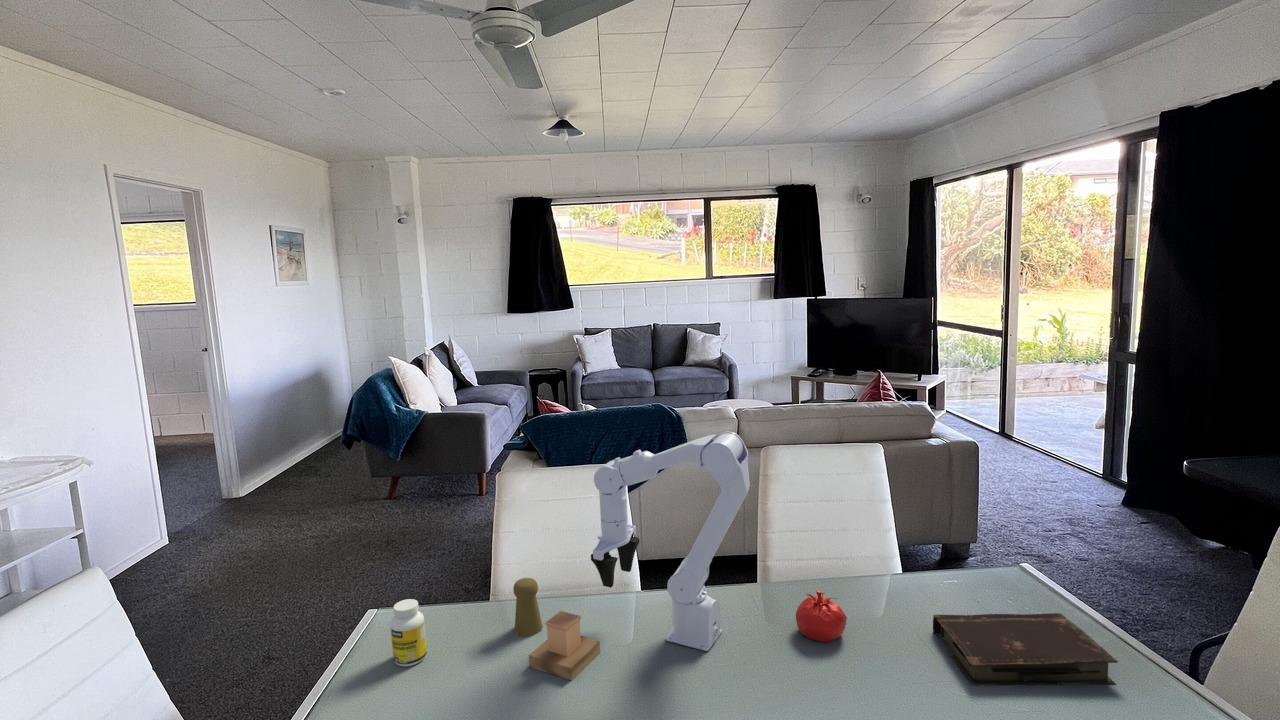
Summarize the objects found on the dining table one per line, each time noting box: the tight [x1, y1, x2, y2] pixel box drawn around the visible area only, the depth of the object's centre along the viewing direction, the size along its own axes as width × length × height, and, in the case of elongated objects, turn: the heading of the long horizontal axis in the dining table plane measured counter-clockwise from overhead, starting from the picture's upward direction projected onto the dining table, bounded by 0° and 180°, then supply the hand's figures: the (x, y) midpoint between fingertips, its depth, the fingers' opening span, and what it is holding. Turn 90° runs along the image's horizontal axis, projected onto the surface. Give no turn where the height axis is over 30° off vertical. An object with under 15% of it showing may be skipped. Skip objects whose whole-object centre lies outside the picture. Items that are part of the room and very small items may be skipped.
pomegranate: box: [795, 589, 848, 643], centre depth 134 cm, size 10×10×9 cm
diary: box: [932, 612, 1119, 687], centre depth 124 cm, size 19×25×5 cm
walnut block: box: [528, 635, 601, 681], centre depth 129 cm, size 10×10×2 cm
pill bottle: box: [389, 598, 428, 667], centre depth 132 cm, size 6×6×12 cm
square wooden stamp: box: [544, 610, 582, 657], centre depth 129 cm, size 5×5×6 cm
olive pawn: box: [512, 577, 544, 637], centre depth 141 cm, size 6×6×11 cm
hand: (617, 578), depth 141 cm, fingers open, 7 cm apart
